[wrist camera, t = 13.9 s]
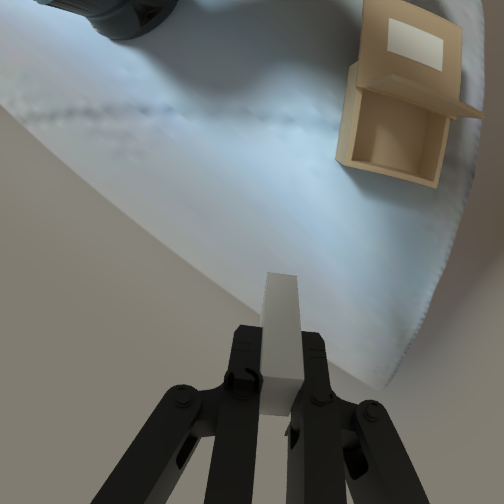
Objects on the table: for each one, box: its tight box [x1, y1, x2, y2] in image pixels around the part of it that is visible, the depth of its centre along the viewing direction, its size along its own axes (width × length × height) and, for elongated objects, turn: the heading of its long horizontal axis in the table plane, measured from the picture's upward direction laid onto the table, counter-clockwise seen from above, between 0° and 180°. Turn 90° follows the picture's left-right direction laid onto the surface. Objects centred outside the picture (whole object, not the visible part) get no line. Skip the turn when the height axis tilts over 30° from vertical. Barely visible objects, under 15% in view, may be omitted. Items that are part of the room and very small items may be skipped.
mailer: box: [335, 61, 450, 189], centre depth 33 cm, size 14×14×6 cm
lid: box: [355, 0, 486, 120], centre depth 21 cm, size 15×15×9 cm
